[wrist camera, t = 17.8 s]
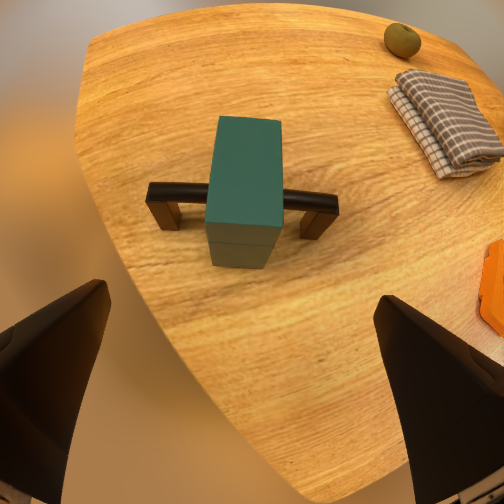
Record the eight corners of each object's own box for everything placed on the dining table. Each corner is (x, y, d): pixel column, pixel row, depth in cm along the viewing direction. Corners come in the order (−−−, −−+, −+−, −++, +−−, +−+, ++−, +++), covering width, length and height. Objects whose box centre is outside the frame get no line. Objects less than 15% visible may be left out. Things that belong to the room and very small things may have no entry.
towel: (377, 98, 31) (399, 59, 24) (443, 102, 34) (464, 76, 27) (437, 188, 27) (475, 155, 20) (490, 172, 31) (518, 149, 23)
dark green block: (263, 268, 22) (283, 227, 14) (212, 265, 22) (204, 222, 14) (264, 186, 24) (281, 120, 16) (220, 183, 24) (219, 115, 16)
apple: (373, 46, 37) (385, 20, 30) (385, 40, 39) (396, 17, 32) (406, 67, 36) (421, 42, 29) (414, 59, 38) (428, 37, 31)
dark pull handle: (317, 240, 24) (343, 210, 18) (161, 230, 23) (142, 197, 17) (316, 223, 24) (341, 190, 18) (164, 213, 23) (146, 176, 17)
